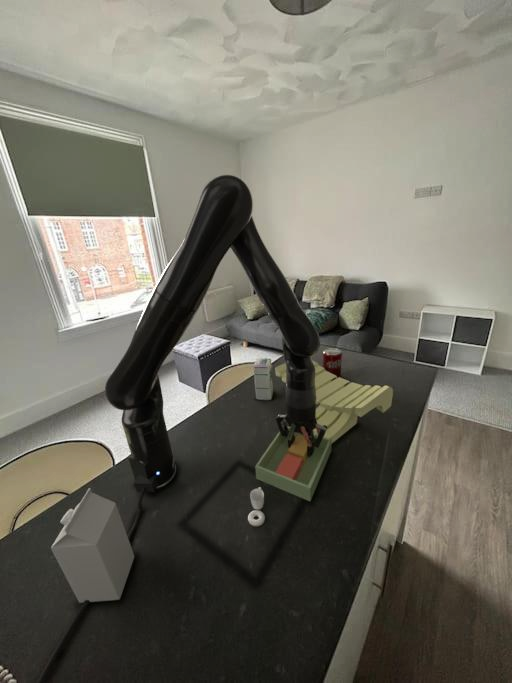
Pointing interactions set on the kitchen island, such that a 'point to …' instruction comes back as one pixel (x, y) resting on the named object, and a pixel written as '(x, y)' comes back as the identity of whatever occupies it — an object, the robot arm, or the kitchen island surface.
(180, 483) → the kitchen island surface
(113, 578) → the milk carton
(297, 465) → the block
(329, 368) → the soda can
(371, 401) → the slatted curved stool
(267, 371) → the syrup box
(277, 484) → the basket
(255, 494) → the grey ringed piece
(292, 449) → the block
